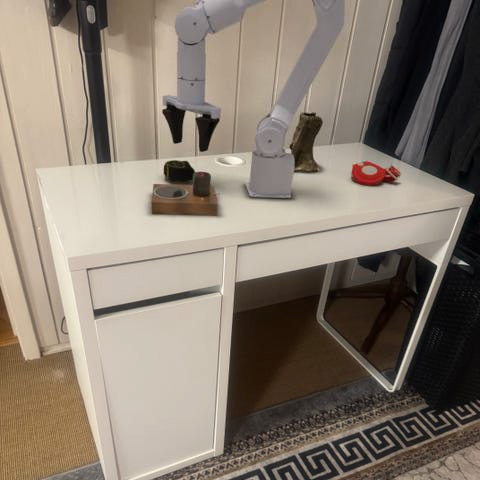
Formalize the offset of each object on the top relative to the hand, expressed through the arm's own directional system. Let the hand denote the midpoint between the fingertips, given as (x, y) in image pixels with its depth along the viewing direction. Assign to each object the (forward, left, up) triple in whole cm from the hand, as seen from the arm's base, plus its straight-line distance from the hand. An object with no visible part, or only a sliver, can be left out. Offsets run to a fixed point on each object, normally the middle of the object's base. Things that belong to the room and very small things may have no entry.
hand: (190, 146), depth 102 cm
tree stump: (-30, -16, -9) cm, 35 cm away
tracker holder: (-47, -7, -9) cm, 48 cm away
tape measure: (+2, -3, -9) cm, 9 cm away
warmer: (+1, +12, -8) cm, 15 cm away
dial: (-2, +12, -6) cm, 14 cm away
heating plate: (+4, +12, -6) cm, 14 cm away
